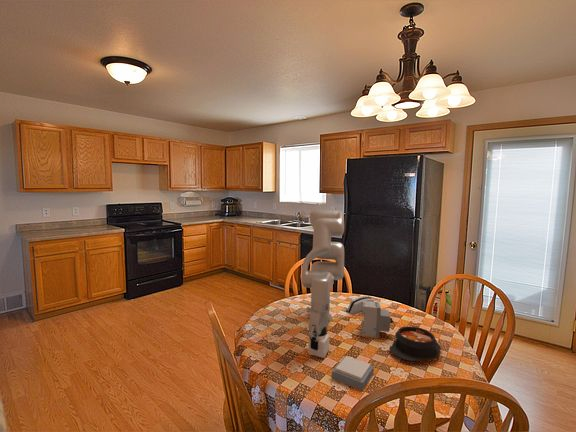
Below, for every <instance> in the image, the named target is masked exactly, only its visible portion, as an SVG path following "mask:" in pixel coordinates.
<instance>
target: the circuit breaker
mask: <svg viewBox="0 0 576 432" xmlns="http://www.w3.org/2000/svg"><path fill="white" fill-rule="evenodd" d="M361 313H362V315H363V320H361V324H360V325H361V330H360V331H361V336H362V337H365V338H372V339H373V338H375V339H380V337H381V336H380V333H381V332H389V333H390V329H391V328H390V326H391V324H394V320H393V318H392V317H391V315H390V311H389V310H388V309H382V308H381V304H380V302H379V301H374V302H372V301H363V304H362V312H361Z"/></svg>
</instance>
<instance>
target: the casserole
mask: <svg viewBox="0 0 576 432" xmlns="http://www.w3.org/2000/svg"><path fill="white" fill-rule="evenodd" d="M388 349H389V351H390V352H391V354H392V355H395V357H398V358H400V359H402V360H404V361H407V362H416V361H417V362H418V361H431V360H434V359H436V358H438V357H439V354H440V350H441V349H442V346H441V345H440V344H439V343H438V341H437V339H436V337H435V335H434V334H433V333H432V332H430V331H429V330H427V329H426V328H422V327H418V326H410V325H409V326H402V327H400V328H398V330H397V331H396V332H395V340H393V342H392V345H391V346H389V348H388Z"/></svg>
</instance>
